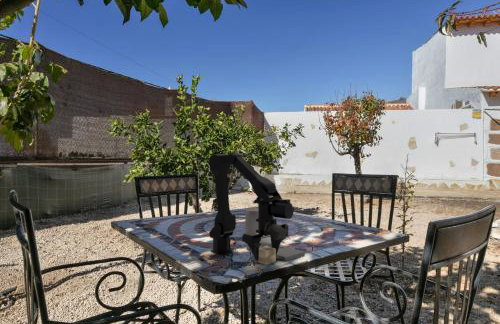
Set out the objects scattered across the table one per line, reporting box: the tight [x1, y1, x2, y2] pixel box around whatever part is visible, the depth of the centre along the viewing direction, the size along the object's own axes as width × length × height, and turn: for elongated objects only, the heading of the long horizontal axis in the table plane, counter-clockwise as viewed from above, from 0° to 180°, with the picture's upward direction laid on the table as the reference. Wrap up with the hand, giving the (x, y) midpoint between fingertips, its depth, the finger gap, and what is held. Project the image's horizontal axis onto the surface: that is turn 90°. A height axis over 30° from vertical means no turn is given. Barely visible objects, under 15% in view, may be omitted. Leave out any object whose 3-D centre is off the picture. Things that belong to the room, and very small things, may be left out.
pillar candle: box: [244, 205, 258, 233], centre depth 171 cm, size 10×10×15 cm
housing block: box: [256, 246, 277, 266], centre depth 132 cm, size 5×5×5 cm
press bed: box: [245, 244, 306, 262], centre depth 145 cm, size 11×22×2 cm, turn 42°
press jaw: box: [256, 233, 271, 247], centre depth 149 cm, size 10×3×5 cm, turn 131°
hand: (266, 258), depth 132 cm, fingers open, 9 cm apart
